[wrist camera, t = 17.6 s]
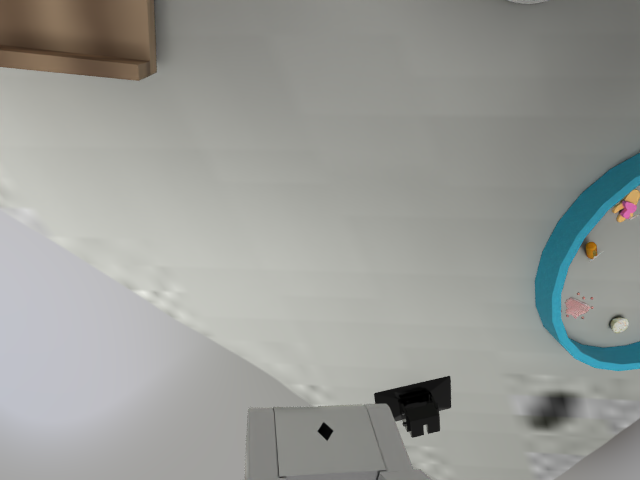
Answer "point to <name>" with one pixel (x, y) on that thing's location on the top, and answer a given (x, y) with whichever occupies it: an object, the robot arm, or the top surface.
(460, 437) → the top surface
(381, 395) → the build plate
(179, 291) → the top surface
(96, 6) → the cart
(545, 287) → the blue flat round ring
